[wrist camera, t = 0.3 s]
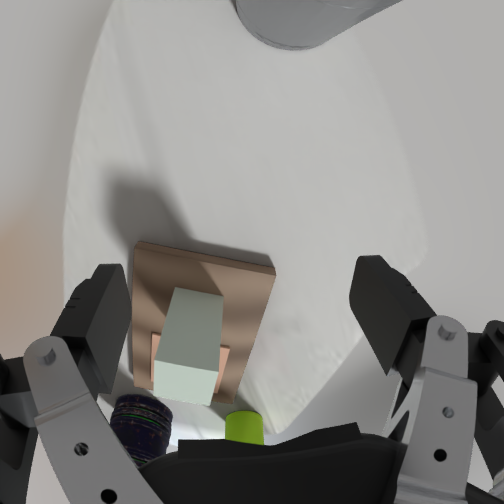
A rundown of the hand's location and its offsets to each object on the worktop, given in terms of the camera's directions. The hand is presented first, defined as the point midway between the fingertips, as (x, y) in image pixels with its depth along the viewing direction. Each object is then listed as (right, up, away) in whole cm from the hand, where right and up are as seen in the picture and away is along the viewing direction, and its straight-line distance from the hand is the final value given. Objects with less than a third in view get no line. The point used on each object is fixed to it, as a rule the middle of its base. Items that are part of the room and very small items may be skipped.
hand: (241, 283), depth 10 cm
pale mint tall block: (-6, -5, +22) cm, 23 cm away
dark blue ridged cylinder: (-17, -25, +34) cm, 45 cm away
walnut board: (-7, -9, +26) cm, 28 cm away
